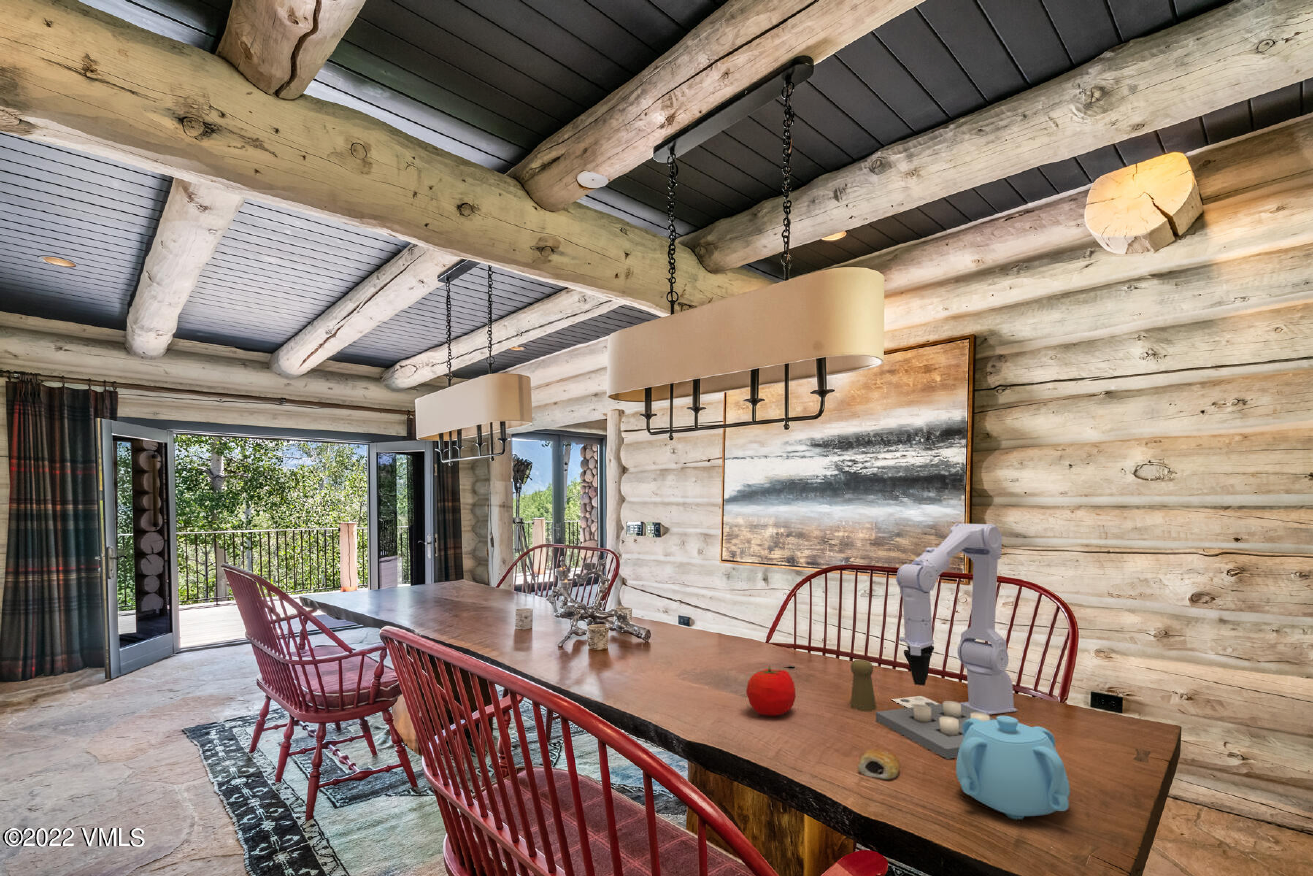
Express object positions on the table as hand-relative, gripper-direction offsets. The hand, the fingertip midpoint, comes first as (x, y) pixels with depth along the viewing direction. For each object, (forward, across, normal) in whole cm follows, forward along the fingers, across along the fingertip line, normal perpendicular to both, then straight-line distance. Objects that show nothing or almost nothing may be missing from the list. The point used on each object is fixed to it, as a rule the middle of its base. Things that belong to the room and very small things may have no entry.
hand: (920, 681), depth 136 cm
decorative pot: (+10, +29, +16) cm, 35 cm away
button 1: (+8, -6, +6) cm, 12 cm away
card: (+10, -17, -3) cm, 20 cm away
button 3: (+8, 0, 0) cm, 8 cm away
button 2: (+8, 0, +11) cm, 14 cm away
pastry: (+10, +26, -5) cm, 29 cm away
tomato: (+10, +6, -32) cm, 35 cm away
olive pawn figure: (+10, -8, -14) cm, 19 cm away
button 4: (+8, +6, +6) cm, 12 cm away
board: (+10, 0, +6) cm, 11 cm away
